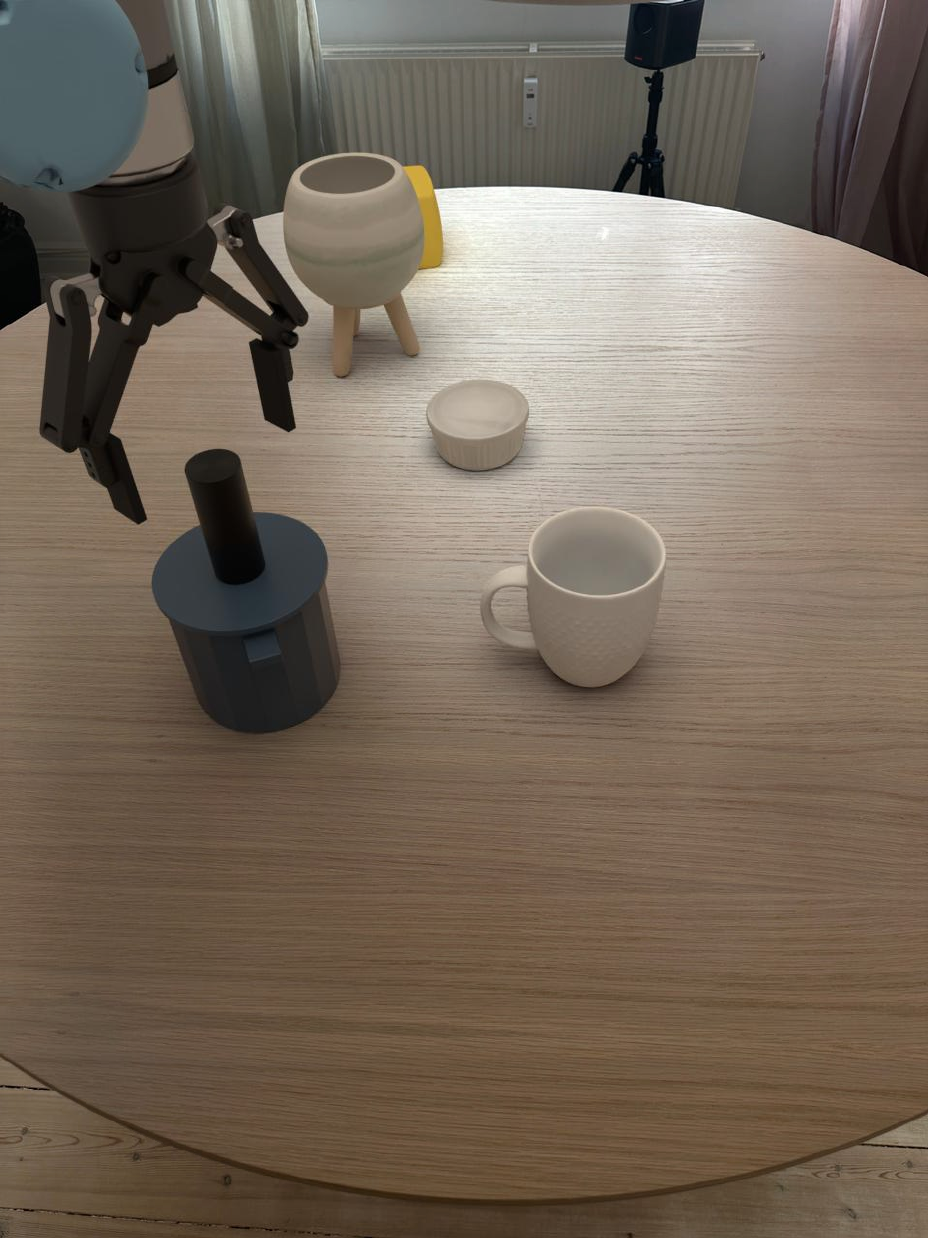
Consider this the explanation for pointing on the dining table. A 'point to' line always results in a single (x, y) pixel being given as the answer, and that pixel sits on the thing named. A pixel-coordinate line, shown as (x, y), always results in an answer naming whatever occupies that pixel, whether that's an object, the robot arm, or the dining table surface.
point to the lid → (236, 558)
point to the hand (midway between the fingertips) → (209, 467)
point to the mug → (586, 593)
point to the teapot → (428, 216)
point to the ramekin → (478, 423)
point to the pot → (265, 670)
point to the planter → (355, 241)
